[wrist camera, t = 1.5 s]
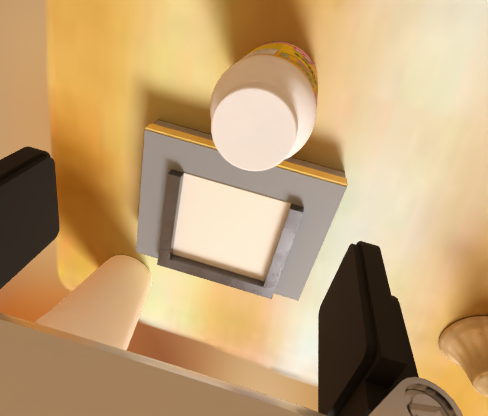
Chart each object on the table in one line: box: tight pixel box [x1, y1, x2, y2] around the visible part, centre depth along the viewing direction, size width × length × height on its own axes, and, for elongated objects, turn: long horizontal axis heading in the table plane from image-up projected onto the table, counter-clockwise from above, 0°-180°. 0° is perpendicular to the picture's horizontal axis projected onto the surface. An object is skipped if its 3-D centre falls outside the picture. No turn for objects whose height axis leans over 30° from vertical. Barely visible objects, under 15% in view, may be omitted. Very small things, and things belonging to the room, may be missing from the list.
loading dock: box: [136, 120, 348, 300], centre depth 36 cm, size 18×14×3 cm
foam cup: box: [35, 255, 153, 350], centre depth 40 cm, size 10×9×13 cm
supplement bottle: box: [210, 42, 318, 171], centre depth 25 cm, size 7×7×13 cm
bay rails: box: [157, 169, 304, 299], centre depth 35 cm, size 12×11×1 cm
